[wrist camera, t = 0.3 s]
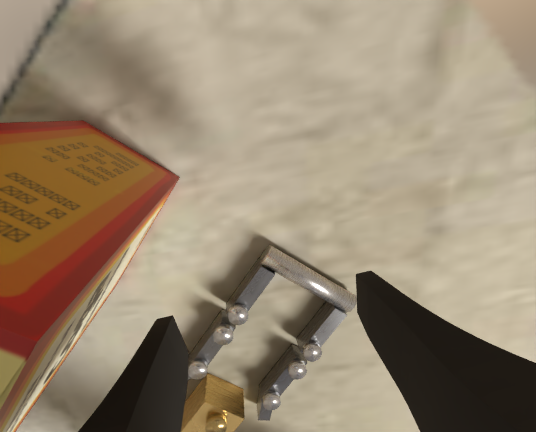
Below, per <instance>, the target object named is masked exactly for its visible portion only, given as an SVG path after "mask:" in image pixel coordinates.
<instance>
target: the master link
mask: <svg viewBox="0 0 536 432" xmlns="http://www.w3.org/2000/svg"><path fill="white" fill-rule="evenodd" d="M243 420H244V395H243V389H242V388H240V387H238V386H236V385H233V384H231V383H229V382H227V381H224V380H222V379H220V378H218V377H215V376H213V375H211V374H209V373H207V374H206V376H205V377H204V378H203V380H202V381H201V382H200V383H199V385H198V386H197V387H196V389H195V390H194V391H193V392H192V394H191V395H190V396H189V398H188V399H187V400H186V401H185V405H184V412H183V420H182V427H181V432H234V431H235V429H236V428H237V427H238V426H239V425H240V424H241V422H242V421H243Z"/></svg>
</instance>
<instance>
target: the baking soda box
mask: <svg viewBox="0 0 536 432" xmlns="http://www.w3.org/2000/svg"><path fill="white" fill-rule="evenodd" d="M179 178H180V177H178V176H177V175H175V174H173V173H172V172H170V171H168V170H167V169H165V168H163V167H161V166H160V165H158V164H156V163H155V162H153V161H151V160H150V159H148V158H146V157H144V156H143V155H141V154H139V153H138V152H136V151H134V150H133V149H131V148H129V147H127V146H126V145H124V144H122V143H121V142H119V141H117V140H116V139H114V138H112V137H110V136H109V135H107V134H105V133H104V132H102V131H100V130H99V129H97V128H95V127H93V126H92V125H90V124H88V123H87V122H85V121H49V122H15V123H0V432H16V430H17V429H18V427H19V426H20V424H21V423H22V421H23V420H24V418H25V417H26V416H27V414H28V413H29V411H30V410H31V408H32V407H33V405H34V404H35V402H36V401H37V400H38V398H39V397H40V395H41V394H42V392H43V391H44V389H45V388H46V387H47V385H48V384H49V382H50V381H51V379H52V378H53V376H54V375H55V373H56V372H57V371H58V369H59V368H60V366H61V365H62V363H63V362H64V360H65V359H66V357H67V356H68V355H69V353H70V352H71V350H72V349H73V347H74V346H75V344H76V343H77V341H78V340H79V339H80V337H81V336H82V334H83V333H84V331H85V330H86V328H87V327H88V326H89V324H90V323H91V321H92V320H93V318H94V317H95V315H96V314H97V312H98V311H99V310H100V308H101V307H102V305H103V304H104V302H105V301H106V299H107V298H108V296H109V295H110V294H111V292H112V291H113V289H114V288H115V286H116V285H117V283H118V281H119V280H120V278H121V276H122V274H123V273H124V271H125V269H126V268H127V266H128V264H129V263H130V261H131V259H132V258H133V256H134V254H135V252H136V251H137V249H138V247H139V246H140V244H141V242H142V241H143V239H144V237H145V235H146V234H147V232H148V230H149V229H150V227H151V225H152V224H153V222H154V220H155V218H156V217H157V215H158V213H159V212H160V210H161V208H162V207H163V205H164V203H165V202H166V200H167V198H168V196H169V195H170V193H171V191H172V190H173V188H174V186H175V185H176V183H177V181H178V179H179Z"/></svg>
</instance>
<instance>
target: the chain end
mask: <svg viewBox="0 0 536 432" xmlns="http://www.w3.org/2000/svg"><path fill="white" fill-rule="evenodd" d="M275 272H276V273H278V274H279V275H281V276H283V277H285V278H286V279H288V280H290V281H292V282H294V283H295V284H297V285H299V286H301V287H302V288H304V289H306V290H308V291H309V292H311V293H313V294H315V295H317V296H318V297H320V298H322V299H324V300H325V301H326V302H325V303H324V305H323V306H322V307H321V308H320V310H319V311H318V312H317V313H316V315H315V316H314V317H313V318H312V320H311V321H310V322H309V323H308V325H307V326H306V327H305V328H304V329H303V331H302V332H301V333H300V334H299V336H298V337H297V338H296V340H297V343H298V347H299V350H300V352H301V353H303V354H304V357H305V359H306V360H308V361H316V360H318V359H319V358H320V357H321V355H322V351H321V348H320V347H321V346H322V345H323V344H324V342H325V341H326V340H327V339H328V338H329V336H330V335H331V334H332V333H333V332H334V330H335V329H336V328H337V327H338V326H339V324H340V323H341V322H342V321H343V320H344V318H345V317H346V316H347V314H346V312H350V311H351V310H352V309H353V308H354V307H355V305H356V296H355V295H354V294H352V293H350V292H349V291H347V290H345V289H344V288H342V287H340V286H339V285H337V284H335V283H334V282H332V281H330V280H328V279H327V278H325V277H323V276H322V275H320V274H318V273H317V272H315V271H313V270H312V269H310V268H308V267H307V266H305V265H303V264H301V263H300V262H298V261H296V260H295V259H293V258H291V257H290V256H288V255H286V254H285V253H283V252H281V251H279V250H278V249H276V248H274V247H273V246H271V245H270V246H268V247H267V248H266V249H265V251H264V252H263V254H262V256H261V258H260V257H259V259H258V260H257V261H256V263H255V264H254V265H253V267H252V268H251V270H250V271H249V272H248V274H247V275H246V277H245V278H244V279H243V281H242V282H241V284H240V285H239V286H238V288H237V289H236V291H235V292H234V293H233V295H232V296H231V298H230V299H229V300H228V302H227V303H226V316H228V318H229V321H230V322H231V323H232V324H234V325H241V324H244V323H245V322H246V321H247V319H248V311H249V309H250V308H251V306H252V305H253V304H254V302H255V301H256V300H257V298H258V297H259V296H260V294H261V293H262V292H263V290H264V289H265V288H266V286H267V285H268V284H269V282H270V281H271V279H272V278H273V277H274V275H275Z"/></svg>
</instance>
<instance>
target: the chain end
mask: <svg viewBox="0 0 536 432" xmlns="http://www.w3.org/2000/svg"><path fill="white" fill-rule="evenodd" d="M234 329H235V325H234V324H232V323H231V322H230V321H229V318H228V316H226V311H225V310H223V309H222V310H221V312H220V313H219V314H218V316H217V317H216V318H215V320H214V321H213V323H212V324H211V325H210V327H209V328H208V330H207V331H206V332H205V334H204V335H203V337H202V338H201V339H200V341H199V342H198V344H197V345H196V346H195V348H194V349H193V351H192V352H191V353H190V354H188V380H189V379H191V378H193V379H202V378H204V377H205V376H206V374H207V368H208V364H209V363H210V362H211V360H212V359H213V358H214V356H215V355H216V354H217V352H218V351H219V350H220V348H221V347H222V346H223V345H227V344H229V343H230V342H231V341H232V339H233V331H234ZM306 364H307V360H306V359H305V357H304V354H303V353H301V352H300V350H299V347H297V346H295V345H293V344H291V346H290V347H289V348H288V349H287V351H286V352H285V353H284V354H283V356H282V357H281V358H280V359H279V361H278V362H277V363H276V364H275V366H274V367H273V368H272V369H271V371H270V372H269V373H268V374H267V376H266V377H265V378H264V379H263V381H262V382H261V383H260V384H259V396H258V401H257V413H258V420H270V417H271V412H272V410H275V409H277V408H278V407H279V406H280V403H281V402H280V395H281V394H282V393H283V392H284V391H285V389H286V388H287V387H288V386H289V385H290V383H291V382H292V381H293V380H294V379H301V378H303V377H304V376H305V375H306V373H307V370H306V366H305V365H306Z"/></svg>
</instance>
